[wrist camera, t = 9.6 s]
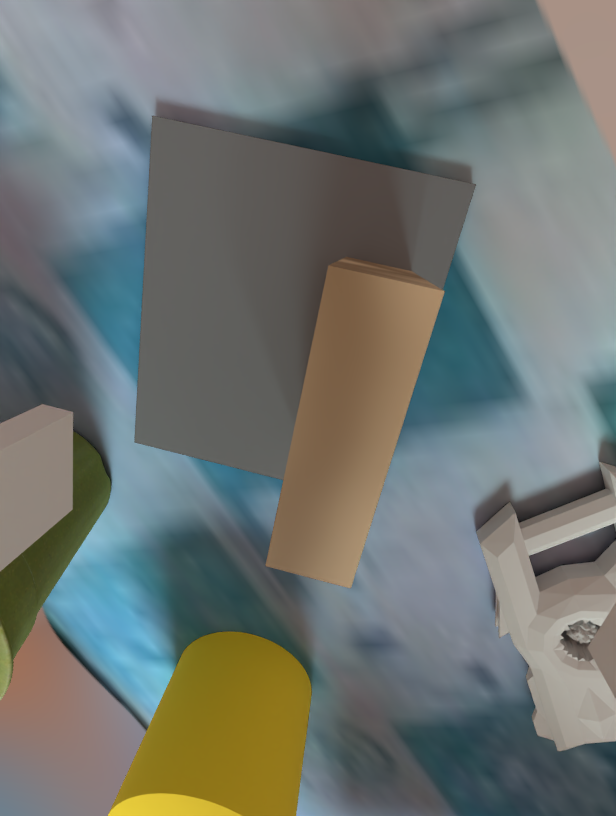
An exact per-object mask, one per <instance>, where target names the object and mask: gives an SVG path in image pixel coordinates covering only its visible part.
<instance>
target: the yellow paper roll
mask: <svg viewBox="0 0 616 816" xmlns="http://www.w3.org/2000/svg"><path fill="white" fill-rule="evenodd" d="M311 695H312V689H311V683H310V680H309V677H308V675H307V673H306V671H305V669H304V668H303V666H302V665H301V664H300V662H299V661H298V660H297V659H296V658H295V657H294V656H293V655H292V654H291V653H289V652H288V651H287V650H285V649H284V648H282V647H281V646H279V645H278V644H276V643H274V642H272V641H270V640H267V639H265V638H262V637H260V636H256V635H253V634H248V633H243V632H217V633H212V634H208V635H205V636H203V637H200V638H198V639H197V640H195V641H193V642H192V643H191V644H190V645H189V646H188V647H187V648H186V649H185V650H184V652H183V653H182V655H181V657H180V660H179V662H178V664H177V666H176V668H175V671H174V673H173V675H172V677H171V679H170V681H169V684H168V686H167V688H166V690H165V692H164V695H163V697H162V699H161V701H160V703H159V705H158V708H157V710H156V712H155V714H154V716H153V718H152V721H151V723H150V725H149V727H148V729H147V732H146V734H145V736H144V738H143V740H142V743H141V745H140V747H139V749H138V751H137V753H136V756H135V758H134V760H133V762H132V764H131V767H130V769H129V771H128V773H127V775H126V777H125V779H124V782H123V784H122V786H121V789H120V790H119V793H118V795H117V797H116V799H115V802H114V803H113V806H112V808H111V810H110V812H109V815H108V816H296V811H297V803H298V796H299V788H300V780H301V772H302V765H303V757H304V749H305V742H306V734H307V726H308V718H309V711H310V703H311Z"/></svg>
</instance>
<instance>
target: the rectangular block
mask: <svg viewBox="0 0 616 816" xmlns="http://www.w3.org/2000/svg"><path fill="white" fill-rule="evenodd" d="M444 292H445V291H443V290H442V289H440V288H438V287H437V286H435V285H434V284H432V283H430V282H429V281H427V280H425V279H424V278H422V277H420V276H419V275H417V274H415V273H414V272H412V271H408V270H404V269H399V268H395V267H390V266H386V265H381V264H377V263H372V262H368V261H363V260H359V259H354V258H349V257H345V258H343V259H341V260H339V261H337V262H335V263H332V264H330V265H328V270H327V275H326V279H325V284H324V289H323V294H322V298H321V303H320V308H319V313H318V318H317V322H316V327H315V332H314V337H313V341H312V346H311V351H310V356H309V360H308V365H307V370H306V375H305V380H304V384H303V389H302V394H301V399H300V403H299V408H298V413H297V418H296V422H295V427H294V432H293V437H292V441H291V446H290V451H289V456H288V461H287V465H286V470H285V475H284V480H283V484H282V489H281V494H280V499H279V503H278V508H277V513H276V518H275V522H274V527H273V532H272V537H271V542H270V546H269V551H268V556H267V561H266V565H265V566H267V567H271V568H275V569H279V570H282V571H286V572H290V573H294V574H298V575H301V576H305V577H309V578H313V579H317V580H320V581H324V582H328V583H332V584H336V585H340V586H343V587H347V588H351V586H352V583H353V580H354V576H355V573H356V570H357V567H358V564H359V561H360V557H361V554H362V551H363V548H364V545H365V542H366V538H367V535H368V532H369V529H370V526H371V523H372V520H373V516H374V513H375V510H376V507H377V504H378V501H379V497H380V494H381V491H382V488H383V485H384V482H385V478H386V475H387V472H388V469H389V466H390V463H391V459H392V456H393V453H394V450H395V447H396V444H397V441H398V437H399V434H400V431H401V428H402V425H403V422H404V418H405V415H406V412H407V409H408V406H409V403H410V399H411V396H412V393H413V390H414V387H415V384H416V380H417V377H418V374H419V371H420V368H421V365H422V362H423V358H424V355H425V352H426V349H427V346H428V343H429V339H430V336H431V333H432V330H433V327H434V324H435V320H436V317H437V314H438V311H439V308H440V305H441V301H442V298H443V295H444Z"/></svg>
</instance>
